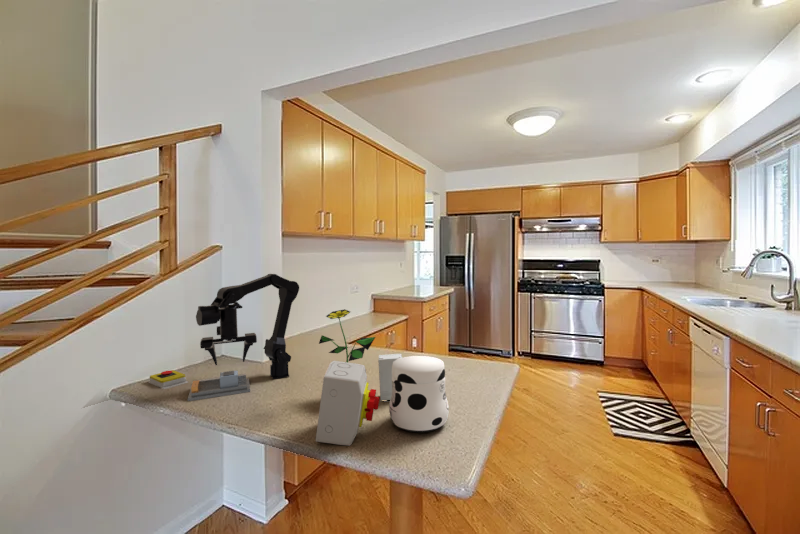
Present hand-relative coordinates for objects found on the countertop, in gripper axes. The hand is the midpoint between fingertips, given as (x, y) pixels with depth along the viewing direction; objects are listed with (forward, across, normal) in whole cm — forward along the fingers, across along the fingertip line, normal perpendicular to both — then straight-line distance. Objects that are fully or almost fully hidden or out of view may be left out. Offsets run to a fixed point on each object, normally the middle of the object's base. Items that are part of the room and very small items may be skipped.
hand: (230, 363), depth 141 cm
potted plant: (+10, -36, +29) cm, 48 cm away
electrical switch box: (+10, -30, +52) cm, 61 cm away
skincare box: (+10, -50, +34) cm, 62 cm away
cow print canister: (+10, -50, +55) cm, 75 cm away
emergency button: (+11, +23, -20) cm, 32 cm away
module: (+9, 0, 0) cm, 9 cm away
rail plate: (+10, +4, -1) cm, 10 cm away
